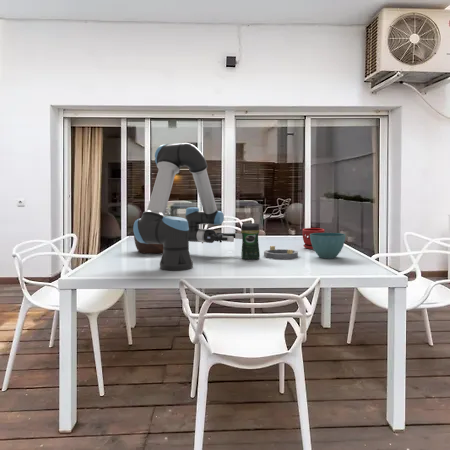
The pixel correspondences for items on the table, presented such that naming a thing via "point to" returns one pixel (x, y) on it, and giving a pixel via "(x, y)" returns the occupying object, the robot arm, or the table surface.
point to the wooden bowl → (148, 247)
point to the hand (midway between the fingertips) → (239, 237)
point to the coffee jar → (250, 241)
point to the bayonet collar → (280, 253)
